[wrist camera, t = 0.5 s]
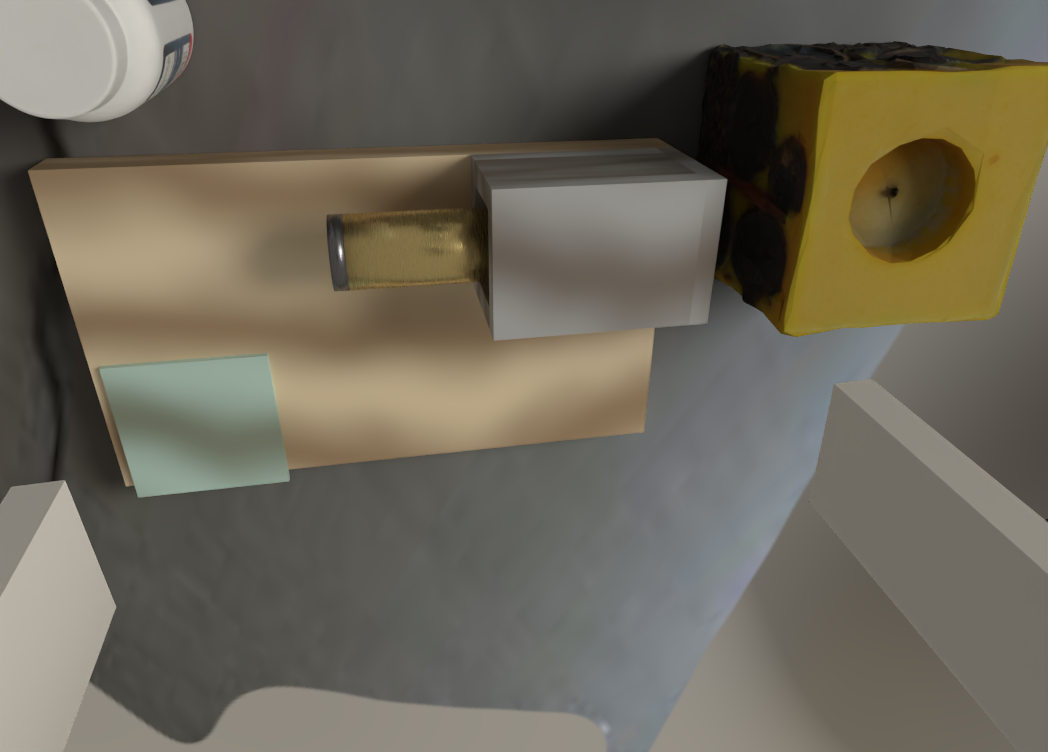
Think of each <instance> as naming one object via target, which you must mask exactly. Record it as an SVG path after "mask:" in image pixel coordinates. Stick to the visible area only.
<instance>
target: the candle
mask: <svg viewBox="0 0 1048 752" xmlns="http://www.w3.org/2000/svg"><path fill="white" fill-rule="evenodd" d="M706 82H707V91H706V93H705V95H704V98H703V107H702V114H703V117H704V121H703V124H702V126H701V136H700V141H699V144H700V147H701V148H700V152H699V156H698V160H697V162H699V163H701V164H702V165H704V166H706V167H708V168H709V169H711V170H713V171H714V172H716V173H718V174H719V175H721V176H723V177H725V178H726V179H727V186H726V193H725V201H724V208H723V215H722V222H721V229H720V236H719V243H718V251H717V258H716V265H715V272H714V277H715V279H716V280H720V281H722V282H723V283H725V284H726V285H728V286H731V287H732V288H733V289H734V290H736V291H737V292H738V293H739V294H740V295H742V299H743V301H744V302H745V303H747V304H749V305H751V306H753V307H755V308H757V309H758V310H760V311H761V312H763V313H764V315H765V316H766V317H767V318H768V319H769V320H770V322H771V323H772V324H773V325H774V326H775V327H776V328H777V330H778V331H779V332H780V333H781V334H785V335H790V336H794V337H799V336H804V335H809V334H815V333H820V332H825V331H830V330H835V329H840V328H865V327H874V326H882V325H894V324H907V323H928V322H952V321H969V320H970V321H971V320H988V319H991V318H993V317H994V316H996V315H997V314H998V312H999V309H1000V305H1001V302H1002V299H1003V295H1004V292H1005V288H1006V284H1007V280H1008V276H1009V273H1010V270H1011V267H1012V263H1013V260H1014V257H1015V253H1016V250H1017V246H1018V242H1019V239H1020V235H1021V231H1022V227H1023V224H1024V220H1025V217H1026V213H1027V209H1028V206H1029V203H1030V199H1031V196H1032V192H1033V189H1034V186H1035V183H1036V179H1037V176H1038V173H1039V170H1040V167H1041V163H1042V160H1043V158H1044V154H1045V151H1046V148H1047V145H1048V62H1034V61H1029V60H1023V59H1017V60H1007V59H1005V58H1004V57H1002V56H994V55H984V54H980V53H976V52H970V51H964V50H958V49H953V48H945V47H938V46H931V45H926V46H921V47H917V46H915V45H910V44H908V43H905V42H896V41H894V42H892V43H864V44H861V43H858V44H855V45H853V46H852V45H844V44H843V45H838V44H836V43H834V42H833V43H828V44H814V45H801V44H775V45H771V44H769V45H766V46H763V47H745V46H741V47H736V48H734V47H731V46H728V45H725V44H724V45H721V46H719V47H716V48H715V49H714V50H713V52H712V53H711V56H710V62H709V66H708V71H707V80H706Z"/></svg>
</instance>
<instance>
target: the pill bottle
mask: <svg viewBox="0 0 1048 752" xmlns="http://www.w3.org/2000/svg"><path fill="white" fill-rule="evenodd" d="M192 48H193V23H192V19H191V14H190V11H189V8H188V6H187V3H186V1H185V0H0V99H1V100H2V101H4V102H5V103H7V104H9V105H10V106H12V107H14V108H16V109H18V110H20V111H22V112H25V113H27V114H30V115H34V116H37V117H41V118H47V119H67V120H73V121H79V122H101V121H107V120H112V119H115V118H118V117H121V116H124V115H126V114H128V113H130V112H132V111H134V110H135V109H137V108H138V107H140V106H141V105H143V104H144V103H146V102H147V101H148V100H150V99H151V98H153V97H154V96H155V95H157V94H158V93H159V92H161V91H162V90H163V89H165V88H166V87H168V86H169V85H170V84H171V83H173V82H174V81H175V80H176V79H177V78H178V77H179V76H180V74H181V73H182V72H183V70H184V69H185V67H186V65H187V64H188V61H189V59H190V56H191V52H192Z"/></svg>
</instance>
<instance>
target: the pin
mask: <svg viewBox="0 0 1048 752" xmlns="http://www.w3.org/2000/svg"><path fill="white" fill-rule="evenodd" d="M326 226H327V242H328V253H329V262H330V270H331V277H332V284H333V288H334V291H335V292H337V291H352V290H367V289H382V288H397V287H412V286H428V285H443V284H458V283H473V282H488V281H489V244H488V208H487V207H472V208H452V209H431V210H410V211H389V212H369V213H348V214H327V217H326Z"/></svg>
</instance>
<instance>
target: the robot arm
mask: <svg viewBox="0 0 1048 752" xmlns="http://www.w3.org/2000/svg"><path fill="white" fill-rule="evenodd" d="M809 502H810V503H811V505H812V506H813V507H814V508H815V509H816V510H817V512H818V513H819V514H820V515H821V517H822V518H823V519H824V520H825V521H826V523H827V524H828V525H829V526H830V527H831V529H832V530H833V531H834V532H835V533H836V535H838V537H839V538H840V539H841V540H842V542H843V543H844V544H845V545H846V547H847V548H848V549H849V550H850V551H851V553H852V554H853V555H854V556H855V557H856V558H857V560H858V561H859V562H860V563H861V564H862V566H863V567H864V568H865V569H866V570H867V572H868V573H869V574H870V575H871V576H872V578H873V579H874V580H875V581H876V582H877V584H878V585H879V586H880V587H881V588H882V590H883V591H884V592H885V593H886V594H887V596H888V597H889V598H890V599H891V600H892V602H893V603H894V604H895V605H896V606H897V607H898V609H899V610H900V611H901V612H902V614H903V615H904V616H905V617H906V618H907V619H908V621H909V622H910V623H911V624H912V626H913V627H914V628H915V629H916V630H917V632H918V633H919V634H920V635H921V636H922V638H923V639H924V640H925V641H926V642H927V644H928V645H929V646H930V647H931V648H932V650H933V651H934V652H935V653H936V654H937V656H939V658H940V659H941V660H942V662H943V663H944V664H945V665H946V666H947V667H948V669H949V670H950V671H951V672H952V674H953V675H954V676H955V677H956V678H957V680H958V681H959V682H960V683H961V684H962V686H963V687H964V688H965V689H966V690H967V692H968V693H969V694H970V695H971V696H972V698H973V699H974V700H975V701H976V702H977V704H978V705H979V706H980V707H981V708H982V709H983V711H984V712H985V713H986V714H987V715H988V717H989V718H990V719H991V720H992V721H993V723H994V724H995V725H996V726H997V727H998V729H999V730H1000V731H1001V732H1002V733H1003V734H1004V736H1005V737H1006V738H1007V739H1008V741H1009V742H1010V743H1011V744H1012V745H1013V747H1014V748H1015V749H1016V750H1017V751H1018V752H1048V519H1045V520H1044V519H1043V518H1042V517H1040V516H1039V515H1038V514H1037V513H1035V512H1034V511H1033V510H1032V509H1031V508H1029V507H1028V506H1027V505H1026V504H1024V503H1023V502H1022V501H1020V499H1018V498H1017V497H1016V496H1015V495H1013V494H1012V493H1011V492H1010V491H1009V490H1007V489H1006V488H1005V487H1004V486H1002V485H1001V484H1000V483H999V482H998V481H996V480H995V479H994V478H992V477H991V476H990V475H989V474H987V473H986V472H985V471H984V470H983V469H982V468H980V467H979V466H978V465H977V464H975V463H974V462H973V461H972V460H971V459H969V458H968V457H967V456H966V455H964V454H963V453H962V452H961V451H960V450H958V449H957V448H956V447H955V446H953V445H952V444H951V443H950V442H948V441H947V440H946V439H945V438H943V437H942V436H941V435H940V434H939V433H937V432H936V431H935V430H934V429H933V428H931V427H930V426H929V425H928V424H926V423H925V422H924V421H923V420H922V419H920V418H919V417H918V416H917V415H915V414H914V413H913V412H912V411H910V410H909V409H908V408H907V407H906V406H904V405H903V404H902V403H901V402H899V401H898V400H897V399H896V398H895V397H893V396H892V395H891V394H890V393H888V392H887V391H886V390H885V389H884V388H882V387H881V386H880V385H879V384H877V383H876V382H875V381H874V380H873V379H869V380H861V381H853V382H845V383H837V384H834V388H833V392H832V397H831V402H830V406H829V411H828V416H827V421H826V425H825V430H824V435H823V439H822V444H821V449H820V453H819V458H818V463H817V467H816V472H815V477H814V481H813V486H812V491H811V496H810V500H809ZM115 609H116V606H115V603H114V601H113V598H112V596H111V593H110V591H109V588H108V586H107V583H106V581H105V578H104V576H103V573H102V571H101V568H100V566H99V563H98V561H97V558H96V556H95V553H94V551H93V549H92V546H91V544H90V541H89V539H88V536H87V534H86V531H85V529H84V526H83V524H82V521H81V519H80V516H79V514H78V511H77V509H76V506H75V504H74V501H73V499H72V496H71V494H70V491H69V489H68V486H67V484H66V482H65V480H63V481H55V482H47V483H39V484H31V485H23V486H15V487H11V488H10V490H9V491H8V493H7V495H6V496H5V498H4V499H3V501H2V502H1V504H0V752H63V750H64V748H65V745H66V742H67V740H68V737H69V734H70V731H71V729H72V726H73V723H74V720H75V718H76V715H77V712H78V710H79V707H80V704H81V701H82V699H83V696H84V693H85V690H86V688H87V685H88V682H89V680H90V677H91V674H92V671H93V669H94V666H95V663H96V660H97V658H98V655H99V652H100V650H101V647H102V644H103V641H104V639H105V636H106V633H107V630H108V628H109V625H110V622H111V619H112V617H113V614H114V611H115Z"/></svg>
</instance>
